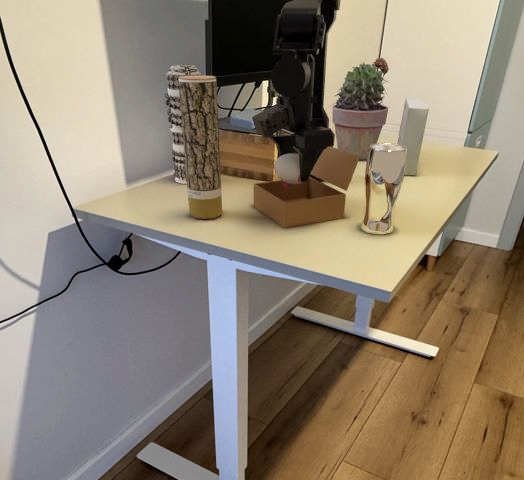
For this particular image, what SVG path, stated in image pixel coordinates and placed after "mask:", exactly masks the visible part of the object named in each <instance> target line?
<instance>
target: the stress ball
mask: <svg viewBox="0 0 524 480" xmlns="http://www.w3.org/2000/svg"><path fill="white" fill-rule="evenodd" d="M273 168H274V169H273V170H274V173H275V175H276V177H278V179H279V180H282V181H284V182H286V183H289V184H300V183H302V182H301V178H300V165H299V154H298V153H297V154H295V153H294V154H285V155H282V156H280V157H279V156H278V158H277V159H276V160H275V162H274V167H273ZM286 183H285V185H284V187H287V186H286Z"/></svg>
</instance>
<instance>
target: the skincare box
mask: <svg viewBox="0 0 524 480" xmlns="http://www.w3.org/2000/svg"><path fill="white" fill-rule="evenodd" d="M429 110H430V108H429V106H428V105H427V103H426V101H425V99H424V98H420V97H419V98H417V97H405V99H404V104H403V111H402V115H401V117H402V118H401V122H400V126H399V130H398V137H397V143H396V144H400V145H404V146H406V147H407V154H406V166H405V173H404V176H416V174H417V170H418V165H419V160H420V154H421V151H422V145H423V142H424V141H423V140H424V136H425V132H426V131H425V130H426V125H427V120H428V115H429Z"/></svg>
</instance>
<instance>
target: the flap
mask: <svg viewBox="0 0 524 480" xmlns="http://www.w3.org/2000/svg"><path fill="white" fill-rule="evenodd" d="M359 158H360V157H359V156H356V155H353V154H350V153H348V152H345V151H342V150H339V149H338V147H334V146H333V147H327V149H324V150H323V152H322V154H321V155H320V157H319V159H318V160H317V162H316V164H315V166H314V168H313V170H312V171H311V173H310V174H311V175H313V176H315V177H318V178H320V179H322V180H321V181H324V182H326V183H327V184H330V185H333V186H335V187H337V188H339V189H341V190H343V191H345V192H348V189H349V187H350V184H351V182H352V179H353V176H354V173H355V171H356V168H357V165H358V163H359V161H360V160H359Z"/></svg>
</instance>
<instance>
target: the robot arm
mask: <svg viewBox="0 0 524 480" xmlns="http://www.w3.org/2000/svg"><path fill="white" fill-rule="evenodd" d="M341 2H342V1H341V0H290V1H288V2H286V3H285V4H284V5H283V7H282V8H281V10H280V14H277V16H276V23H275V31H274V38H273V44H272V54H273V55H281V57H280V59H279V60H278V61H277V62H276V63H275V64H274V66H273V68H272V71H271V75H270V77H271V78H270V79H271V84H272V88H273V89H274V91H275V92H276V93H277V94H278V95H277V97H276V101H275V105H274V106H272V107H268V108H266V109H264V110H262V111H260V112H259V113H257V114H254V115H253V116H252V117H251V119H252V120H251V121H252V123H253V127H254V129H255V132H256V135H258V136H262V137H263V138H264V139H267V138H268V139H270V141H272V142H273V143H274V144H275V146H276V149H277V154H278V158H279V157H280V156H282V155H285V154H297V155H299V165H300V178H301V182H306V181H307V179H308V177H311V178H313V179H315V180H317V181H319V182H321V181H323V180H322V179H320V178H318V177H315V176H313V175H311V174H310V173H311V171H312V170H313V168H314V166H315V164H316V162H317V160H318V159H319V157H320V155H321V154H322V152H323V150H324V149H327V147H334V146H335V140H336V133H334V132H333V130H332V128H331V127H330V118H329V116H328V114H327V112H326V110H325V108H324V103H325V102H324V101H325V87H326V71H327V55H328V39H329V38H328V37H329V32H330V31H331V29H332V27H333V25H334V24H335V22H336V20H337V13H338V11H340V8H341Z"/></svg>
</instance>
